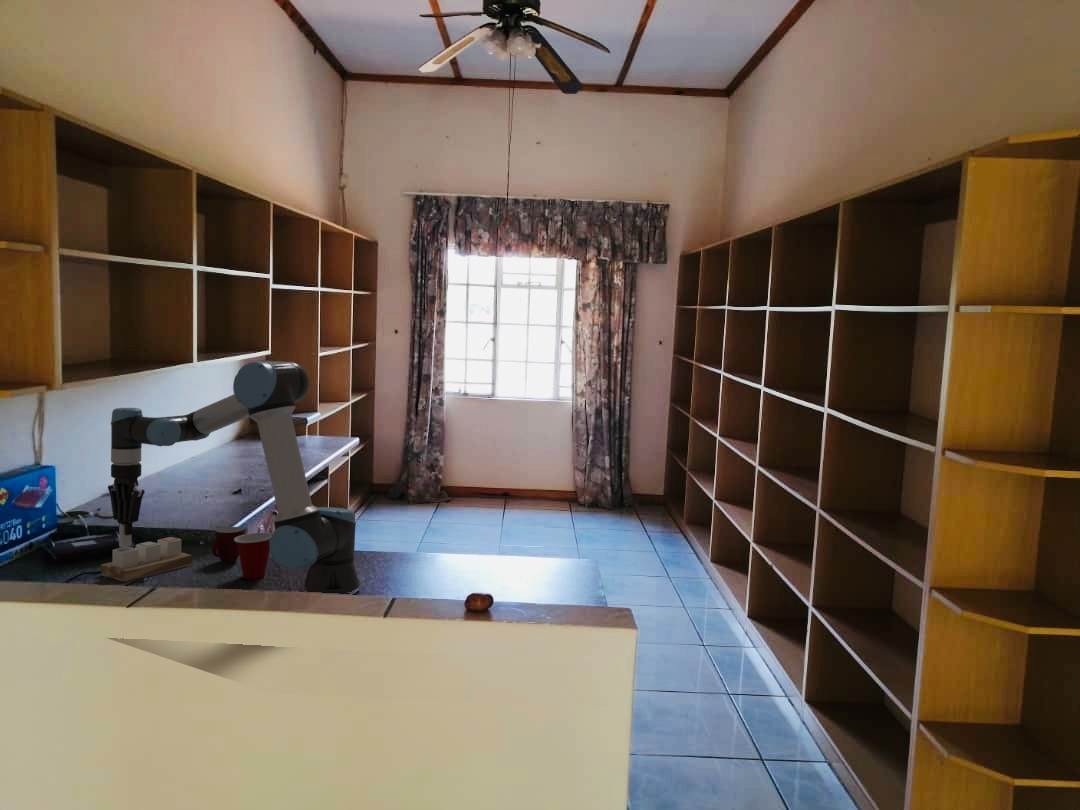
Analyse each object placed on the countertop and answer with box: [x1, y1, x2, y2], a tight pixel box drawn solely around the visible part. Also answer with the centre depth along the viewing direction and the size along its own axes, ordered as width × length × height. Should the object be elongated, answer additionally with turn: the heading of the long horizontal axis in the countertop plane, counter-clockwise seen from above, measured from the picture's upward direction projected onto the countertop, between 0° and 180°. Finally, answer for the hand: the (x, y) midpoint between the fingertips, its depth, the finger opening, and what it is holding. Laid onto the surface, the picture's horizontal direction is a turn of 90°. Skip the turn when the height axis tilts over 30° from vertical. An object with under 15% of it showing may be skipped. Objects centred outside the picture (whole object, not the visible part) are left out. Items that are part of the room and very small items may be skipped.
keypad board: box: [100, 552, 193, 583], centre depth 223 cm, size 11×21×3 cm, turn 152°
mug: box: [211, 526, 245, 564], centre depth 233 cm, size 11×8×10 cm
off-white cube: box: [111, 546, 138, 569], centre depth 216 cm, size 5×5×5 cm
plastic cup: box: [234, 532, 273, 580], centre depth 221 cm, size 11×11×12 cm
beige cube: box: [157, 536, 182, 558], centre depth 229 cm, size 5×5×5 cm
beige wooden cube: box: [135, 541, 160, 564], centre depth 223 cm, size 5×5×5 cm
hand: (125, 545), depth 216 cm, fingers closed
